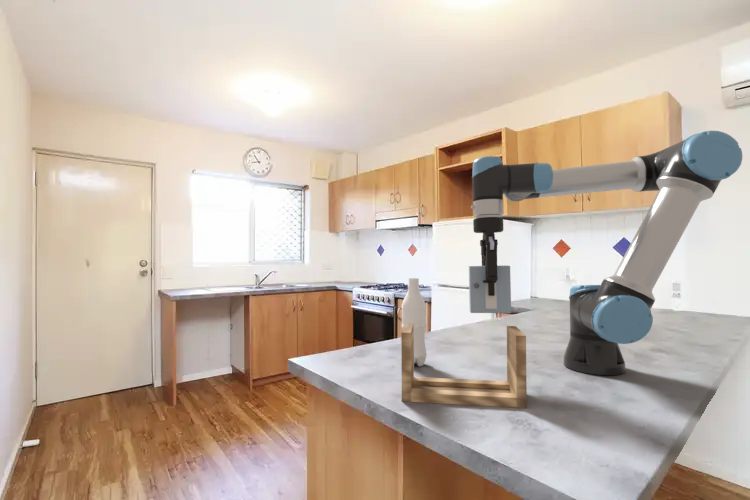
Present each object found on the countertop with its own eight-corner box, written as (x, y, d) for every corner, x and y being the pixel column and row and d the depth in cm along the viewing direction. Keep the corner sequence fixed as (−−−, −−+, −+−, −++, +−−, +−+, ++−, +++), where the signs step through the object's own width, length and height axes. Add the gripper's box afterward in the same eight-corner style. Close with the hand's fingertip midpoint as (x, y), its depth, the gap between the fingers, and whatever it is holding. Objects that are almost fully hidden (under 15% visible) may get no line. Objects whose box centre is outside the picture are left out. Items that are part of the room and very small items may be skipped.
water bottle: (425, 368, 110) (425, 279, 110) (400, 367, 112) (399, 279, 112) (427, 362, 117) (426, 277, 117) (403, 360, 119) (402, 277, 119)
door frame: (516, 390, 93) (515, 326, 93) (526, 408, 82) (526, 335, 82) (405, 384, 97) (405, 323, 97) (401, 401, 86) (401, 332, 86)
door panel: (508, 311, 103) (507, 265, 104) (511, 313, 99) (510, 266, 99) (469, 311, 105) (468, 266, 105) (471, 313, 101) (470, 266, 101)
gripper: (470, 220, 112) (472, 303, 111) (476, 214, 95) (478, 311, 95) (498, 219, 110) (499, 303, 110) (508, 213, 94) (510, 312, 94)
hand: (490, 307), depth 102 cm, fingers closed on door panel, 3 cm apart
